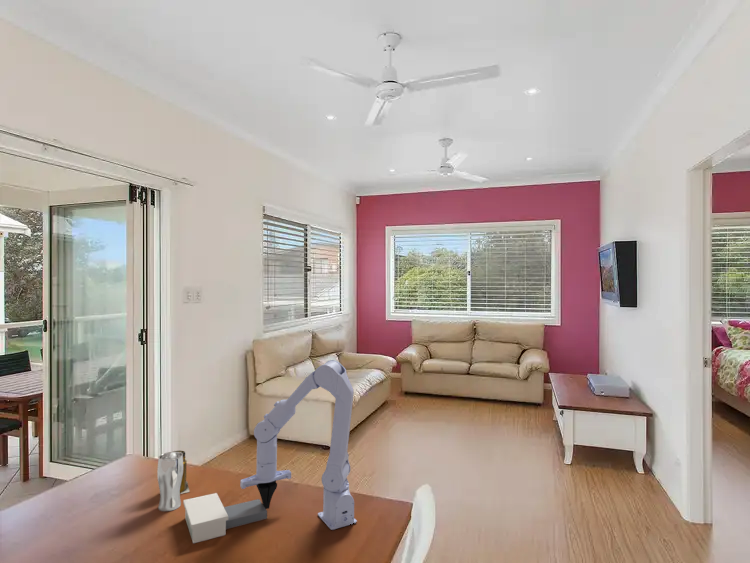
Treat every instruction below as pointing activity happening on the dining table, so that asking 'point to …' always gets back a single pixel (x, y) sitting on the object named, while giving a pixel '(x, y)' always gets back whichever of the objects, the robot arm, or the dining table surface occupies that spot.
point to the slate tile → (245, 513)
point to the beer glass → (170, 480)
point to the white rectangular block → (205, 517)
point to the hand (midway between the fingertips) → (265, 507)
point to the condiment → (184, 476)
